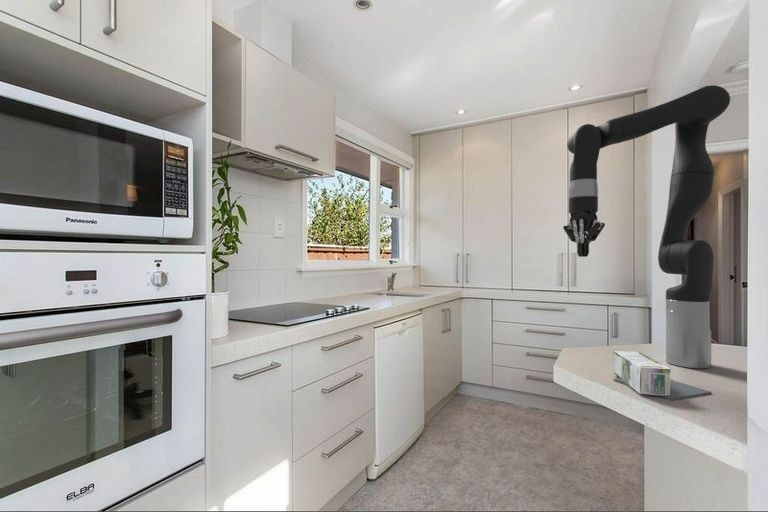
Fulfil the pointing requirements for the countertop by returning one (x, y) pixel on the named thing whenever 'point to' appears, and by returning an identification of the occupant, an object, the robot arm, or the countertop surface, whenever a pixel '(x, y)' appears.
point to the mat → (679, 390)
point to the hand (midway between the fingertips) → (582, 256)
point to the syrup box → (642, 373)
